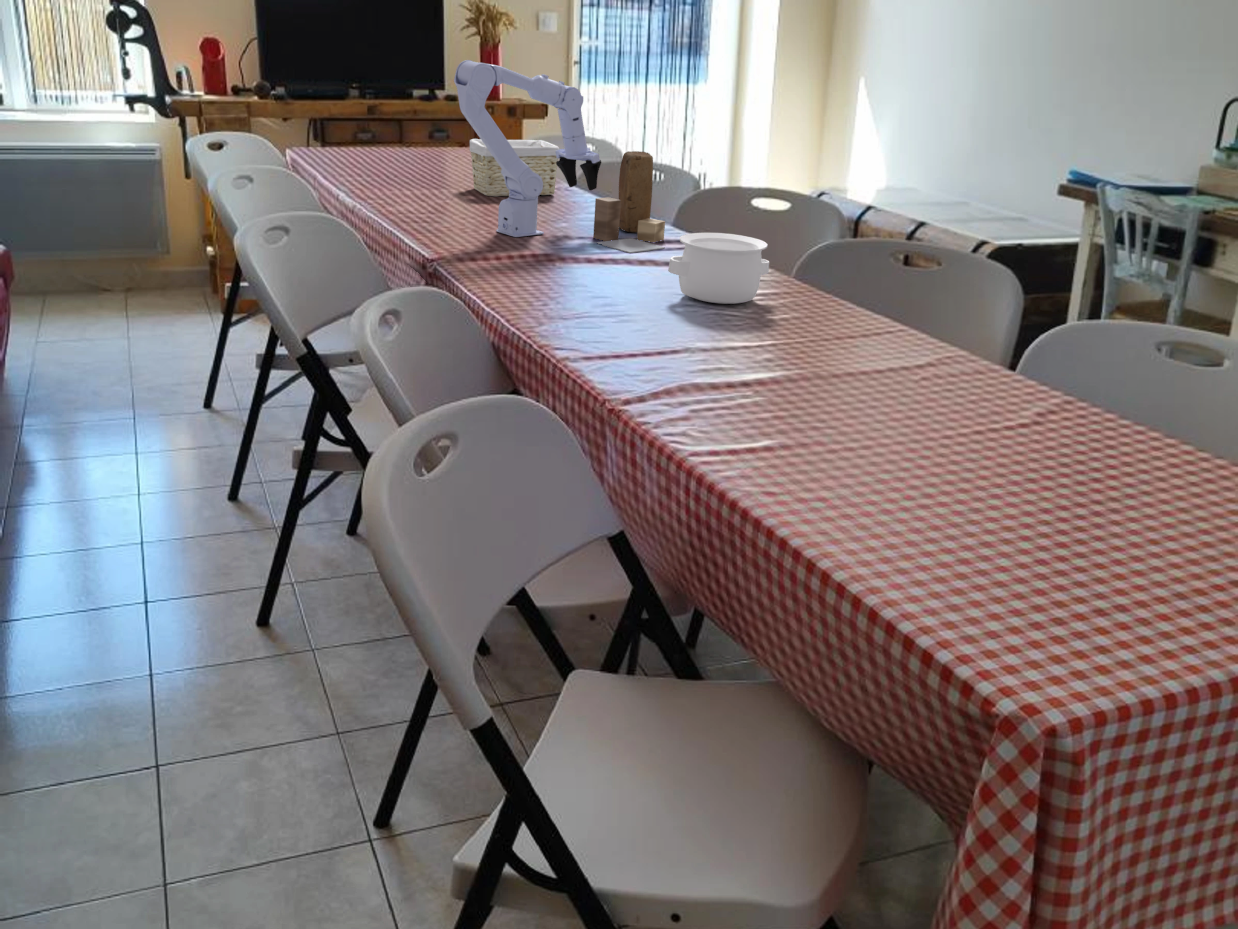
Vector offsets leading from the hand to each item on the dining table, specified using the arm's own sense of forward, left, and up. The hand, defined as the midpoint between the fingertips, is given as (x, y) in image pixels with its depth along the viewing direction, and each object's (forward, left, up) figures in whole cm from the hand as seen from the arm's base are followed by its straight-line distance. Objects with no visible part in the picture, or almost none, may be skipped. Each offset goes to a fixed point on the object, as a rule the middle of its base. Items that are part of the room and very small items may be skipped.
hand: (582, 187), depth 294 cm
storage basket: (+19, +52, -11) cm, 57 cm away
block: (+13, -5, -11) cm, 18 cm away
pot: (-22, -67, -11) cm, 72 cm away
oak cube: (+8, -17, -11) cm, 22 cm away
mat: (-2, -20, -11) cm, 23 cm away
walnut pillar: (-2, -11, -11) cm, 16 cm away
